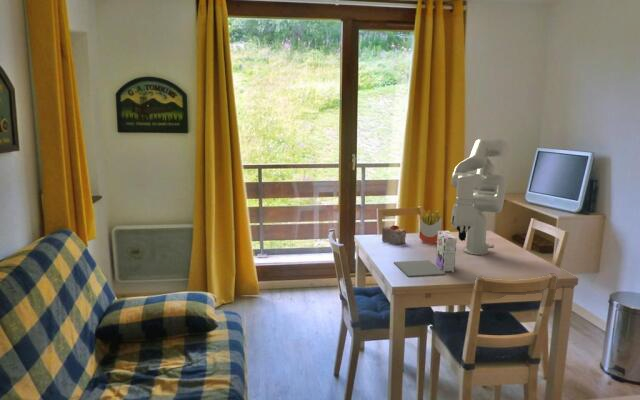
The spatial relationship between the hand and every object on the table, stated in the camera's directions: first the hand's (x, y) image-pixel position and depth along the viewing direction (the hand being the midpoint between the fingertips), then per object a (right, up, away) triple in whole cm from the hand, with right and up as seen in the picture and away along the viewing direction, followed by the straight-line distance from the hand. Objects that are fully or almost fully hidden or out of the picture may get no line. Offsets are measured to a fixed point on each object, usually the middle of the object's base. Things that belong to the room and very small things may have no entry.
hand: (462, 239), depth 227 cm
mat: (-21, -14, -1) cm, 25 cm away
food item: (-25, -5, +44) cm, 51 cm away
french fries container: (-5, -5, +45) cm, 45 cm away
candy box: (-8, -13, +1) cm, 16 cm away
